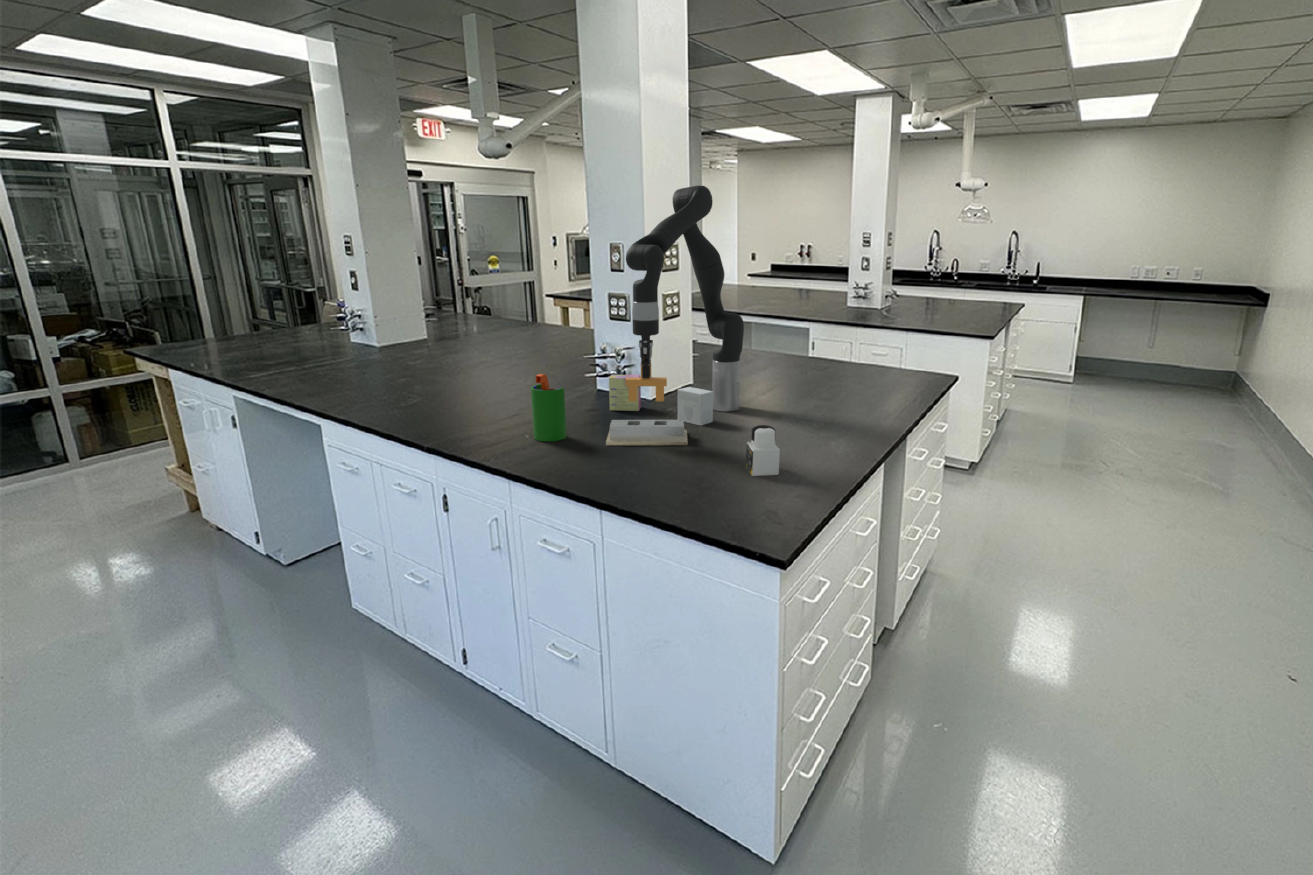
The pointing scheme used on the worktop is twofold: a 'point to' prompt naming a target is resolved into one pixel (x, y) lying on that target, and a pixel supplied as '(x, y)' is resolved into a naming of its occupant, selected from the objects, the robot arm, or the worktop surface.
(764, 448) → the medicine bottle
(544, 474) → the worktop surface
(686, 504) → the worktop surface
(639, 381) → the clip
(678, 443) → the slotted grey base block
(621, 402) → the box
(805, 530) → the worktop surface
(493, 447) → the worktop surface
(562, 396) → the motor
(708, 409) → the skincare box
